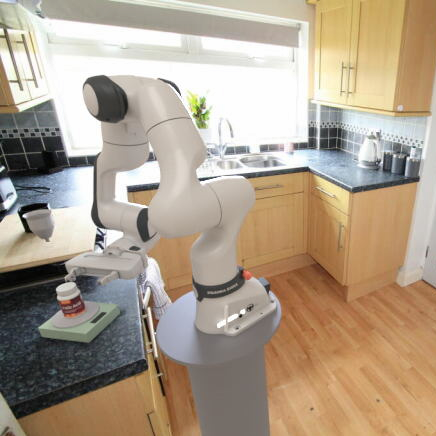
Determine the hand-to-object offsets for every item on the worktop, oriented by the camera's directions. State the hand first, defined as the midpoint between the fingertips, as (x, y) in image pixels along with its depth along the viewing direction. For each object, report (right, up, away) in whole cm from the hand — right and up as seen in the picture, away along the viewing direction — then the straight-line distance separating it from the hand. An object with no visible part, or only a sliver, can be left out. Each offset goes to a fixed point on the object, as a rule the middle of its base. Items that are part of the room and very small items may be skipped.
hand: (83, 281), depth 85 cm
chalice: (-31, +2, +27) cm, 41 cm away
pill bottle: (-1, -8, -1) cm, 8 cm away
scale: (0, -11, 0) cm, 11 cm away
